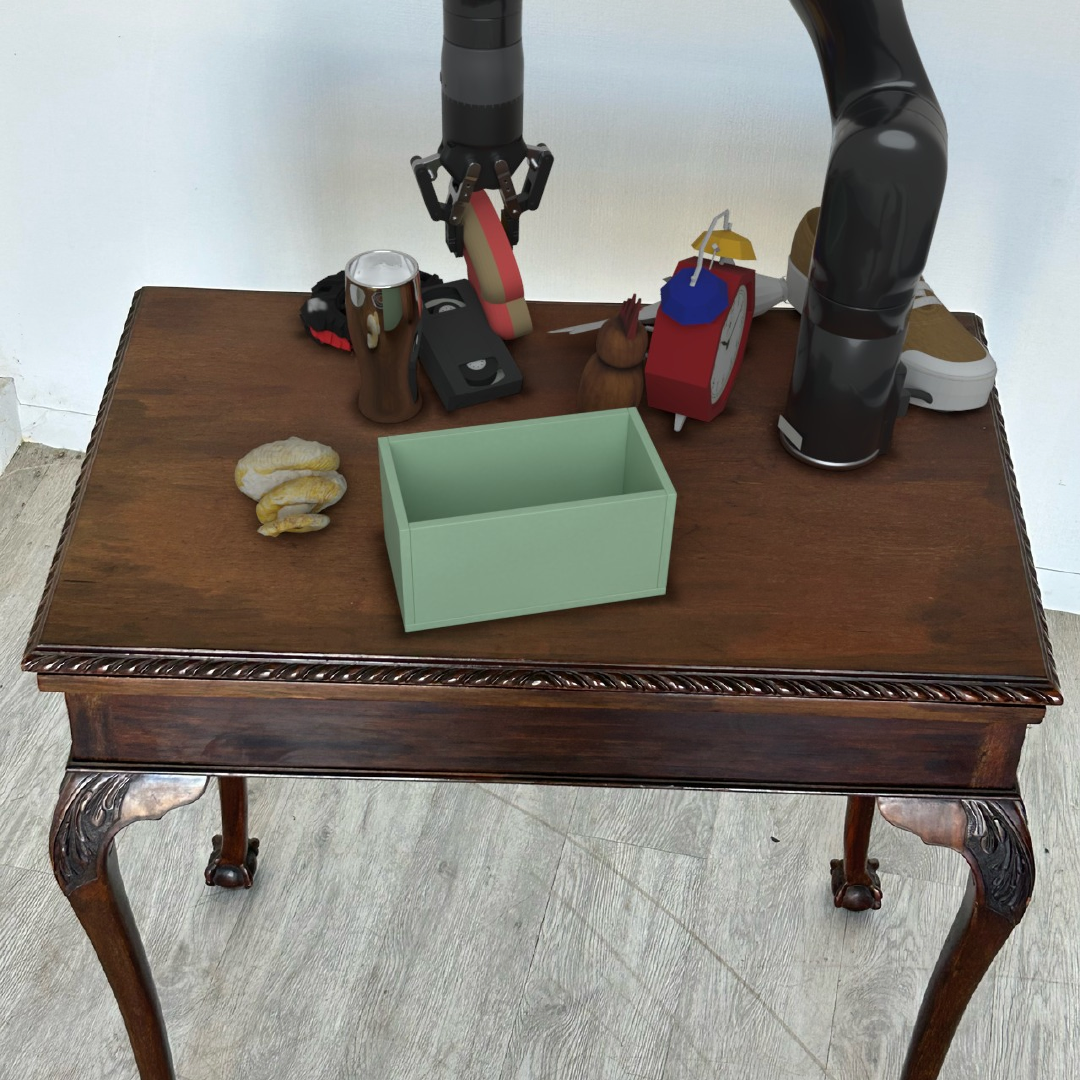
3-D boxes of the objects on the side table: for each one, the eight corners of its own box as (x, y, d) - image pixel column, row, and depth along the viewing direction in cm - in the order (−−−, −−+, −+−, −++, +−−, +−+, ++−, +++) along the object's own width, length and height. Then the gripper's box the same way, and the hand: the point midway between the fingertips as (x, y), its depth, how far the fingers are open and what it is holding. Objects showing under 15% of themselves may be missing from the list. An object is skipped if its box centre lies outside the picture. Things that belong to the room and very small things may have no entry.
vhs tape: (522, 392, 134) (524, 378, 132) (447, 411, 131) (448, 398, 129) (465, 291, 140) (467, 277, 139) (393, 308, 138) (394, 294, 136)
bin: (627, 505, 121) (635, 406, 114) (665, 594, 113) (677, 493, 106) (384, 537, 117) (377, 437, 110) (405, 632, 109) (399, 530, 102)
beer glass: (409, 433, 128) (402, 294, 118) (341, 417, 130) (329, 279, 120) (437, 392, 133) (433, 256, 123) (371, 377, 135) (362, 242, 125)
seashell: (358, 401, 122) (314, 501, 110) (371, 457, 125) (330, 559, 114) (252, 404, 124) (198, 503, 112) (268, 460, 127) (218, 560, 116)
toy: (361, 260, 151) (359, 236, 149) (486, 298, 146) (486, 274, 144) (271, 335, 140) (268, 310, 138) (404, 379, 135) (402, 353, 133)
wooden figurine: (626, 453, 126) (662, 314, 117) (566, 437, 127) (597, 297, 117) (636, 413, 132) (672, 277, 122) (578, 399, 132) (609, 261, 122)
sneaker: (927, 432, 129) (956, 340, 123) (755, 288, 148) (772, 202, 142) (1007, 411, 133) (1039, 321, 127) (829, 273, 152) (849, 189, 146)
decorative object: (503, 370, 137) (468, 294, 147) (540, 358, 137) (502, 283, 148) (474, 254, 127) (439, 182, 138) (513, 242, 127) (474, 171, 138)
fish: (799, 238, 139) (749, 241, 148) (571, 281, 131) (532, 282, 140) (810, 337, 142) (760, 334, 151) (587, 386, 133) (548, 380, 142)
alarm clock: (701, 454, 127) (725, 264, 113) (613, 430, 129) (627, 241, 116) (747, 371, 137) (775, 187, 123) (665, 350, 139) (684, 168, 126)
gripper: (414, 108, 120) (419, 278, 131) (569, 93, 123) (562, 261, 135) (396, 74, 125) (403, 240, 137) (546, 60, 129) (541, 224, 140)
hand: (482, 249), depth 136 cm, fingers closed on decorative object, 4 cm apart
